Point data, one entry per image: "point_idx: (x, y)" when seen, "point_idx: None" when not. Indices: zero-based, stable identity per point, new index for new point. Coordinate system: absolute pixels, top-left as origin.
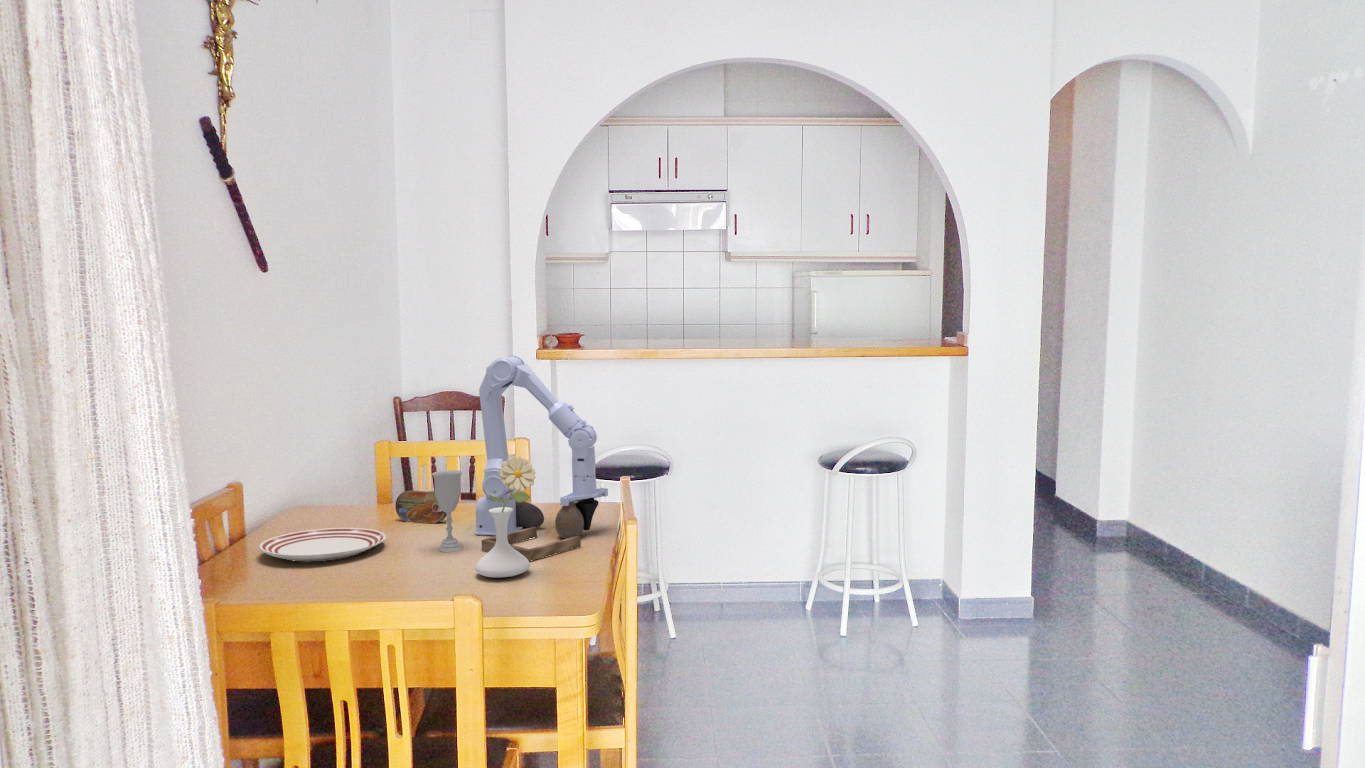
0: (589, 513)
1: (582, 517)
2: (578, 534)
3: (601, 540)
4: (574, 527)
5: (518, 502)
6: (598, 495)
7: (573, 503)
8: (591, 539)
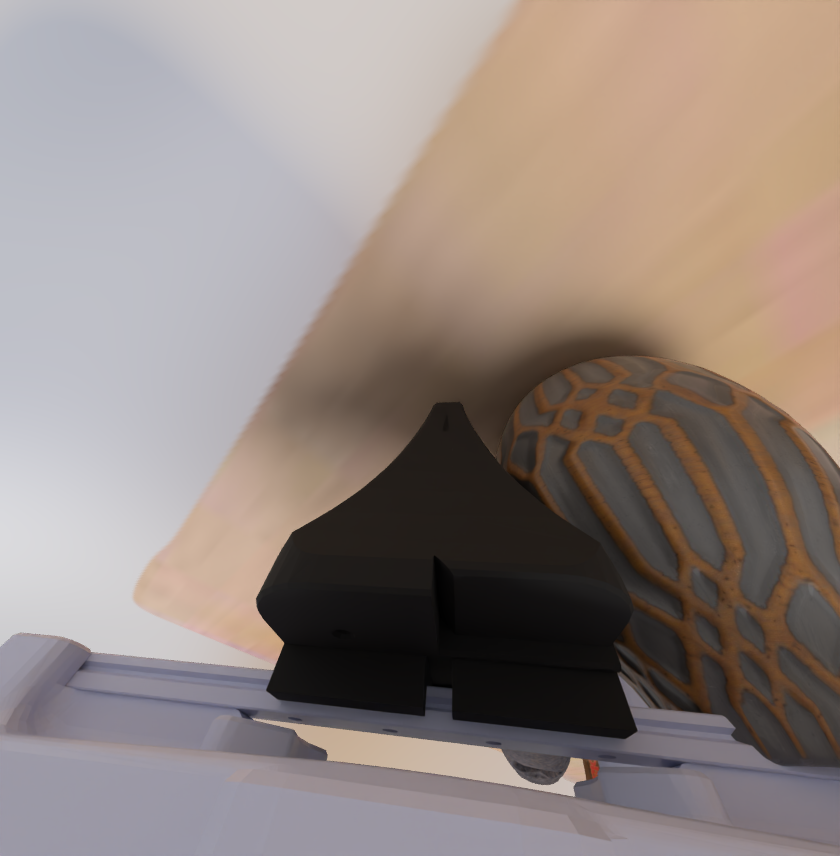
0: (459, 475)
1: (612, 443)
2: (616, 356)
3: (539, 126)
4: (730, 380)
5: (555, 759)
6: (154, 698)
7: (829, 730)
8: (552, 255)
